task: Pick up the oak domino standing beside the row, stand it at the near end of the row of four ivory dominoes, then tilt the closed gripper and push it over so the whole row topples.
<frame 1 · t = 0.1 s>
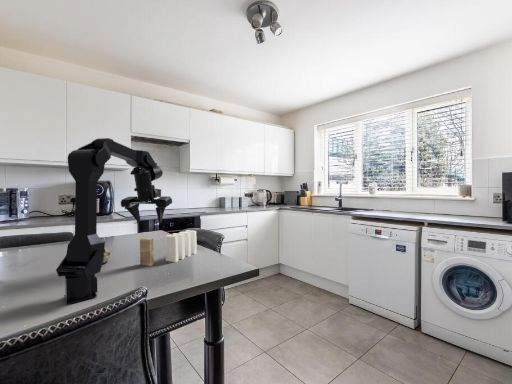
hand: (149, 222, 101), 15 cm above the table, tool pointing down, fingers open, 9 cm apart
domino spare: (146, 264, 96), on the table
rock: (92, 265, 97), on the table
domino 4: (185, 255, 108), on the table
domino 2: (172, 260, 100), on the table
domino 5: (190, 253, 111), on the table
domino 3: (178, 258, 104), on the table
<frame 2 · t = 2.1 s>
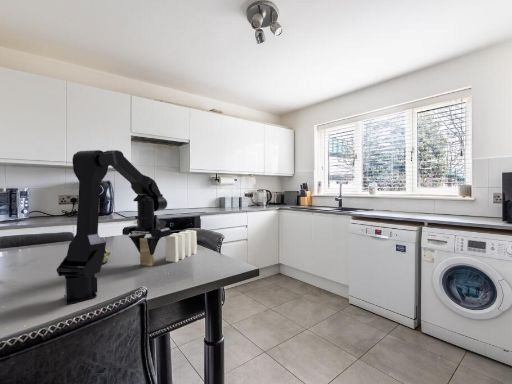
hand: (146, 254, 96), 4 cm above the table, tool pointing down, fingers closed on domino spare, 5 cm apart
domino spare: (146, 264, 96), on the table, touching gripper
everything else where it was.
when the fingers open (5 cm above the table, at t = 6.0 s): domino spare stays where it is, on the table.
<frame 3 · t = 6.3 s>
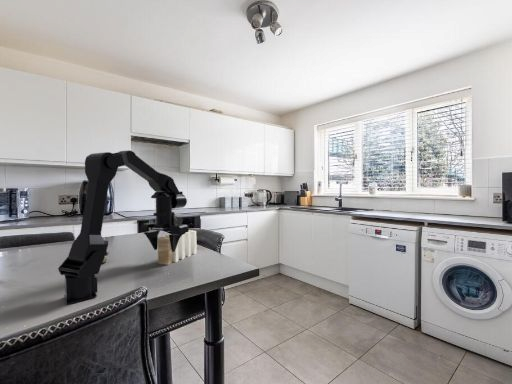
hand: (164, 250, 97), 5 cm above the table, tool pointing down, fingers open, 8 cm apart
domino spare: (164, 263, 97), on the table
everything else where it was.
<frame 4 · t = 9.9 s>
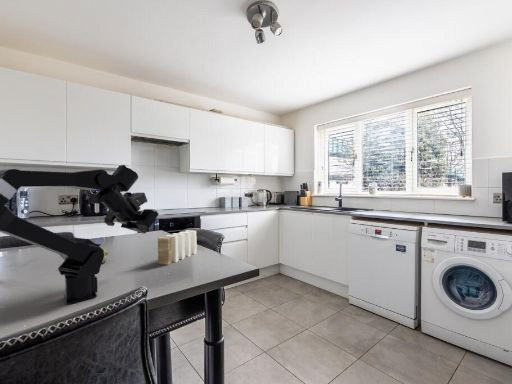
hand: (145, 232, 88), 14 cm above the table, tool tilted 45°, fingers closed
nothing on the table moved.
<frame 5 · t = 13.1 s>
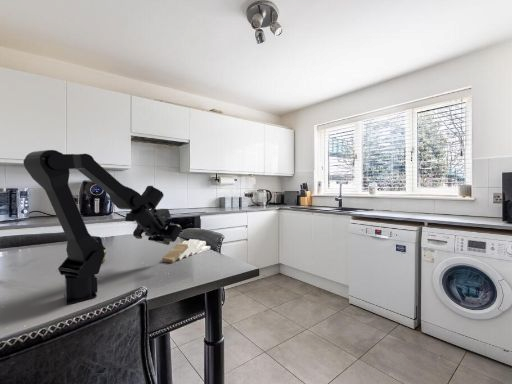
hand: (168, 244, 99), 7 cm above the table, tool tilted 45°, fingers closed
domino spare: (167, 260, 98), point 1 cm above the table, tilted 66°, touching domino 2
domino 4: (187, 252, 109), point 1 cm above the table, tilted 75°, touching domino 3
domino 2: (175, 257, 102), point 1 cm above the table, tilted 65°, touching domino 3, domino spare
domino 5: (192, 252, 112), on the table, tilted 90°
domino 3: (181, 255, 106), point 1 cm above the table, tilted 65°, touching domino 2, domino 4
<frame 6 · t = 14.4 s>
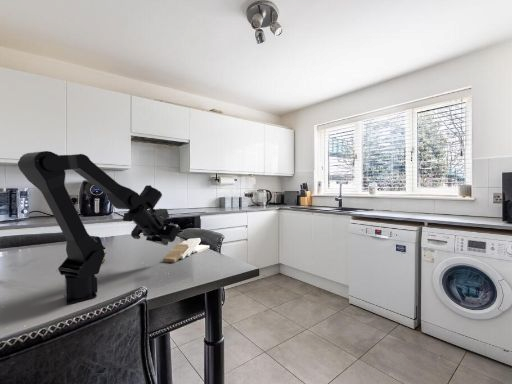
hand: (166, 244, 98), 7 cm above the table, tool tilted 45°, fingers closed
domino 4: (188, 251, 111), point 1 cm above the table, tilted 72°, touching domino 3, domino 5
domino 2: (177, 257, 103), point 1 cm above the table, tilted 67°, touching domino 3, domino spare
domino 5: (192, 251, 113), on the table, tilted 90°, touching domino 4
domino 3: (183, 254, 107), point 1 cm above the table, tilted 67°, touching domino 2, domino 4
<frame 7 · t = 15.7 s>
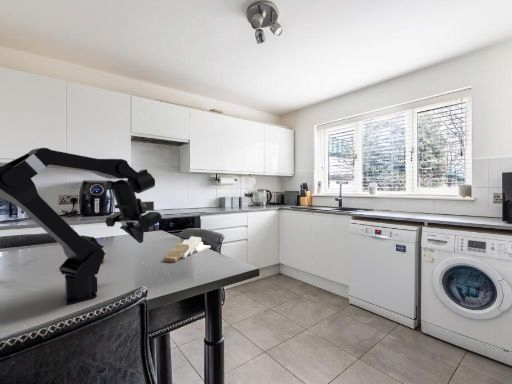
hand: (141, 242, 84), 11 cm above the table, tool tilted 20°, fingers closed
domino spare: (169, 259, 99), point 1 cm above the table, tilted 69°
domino 4: (190, 248, 113), point 2 cm above the table, tilted 90°, touching domino 3
domino 2: (179, 256, 104), point 1 cm above the table, tilted 64°
domino 5: (193, 251, 114), on the table, tilted 90°
domino 3: (185, 252, 109), point 1 cm above the table, tilted 64°, touching domino 4
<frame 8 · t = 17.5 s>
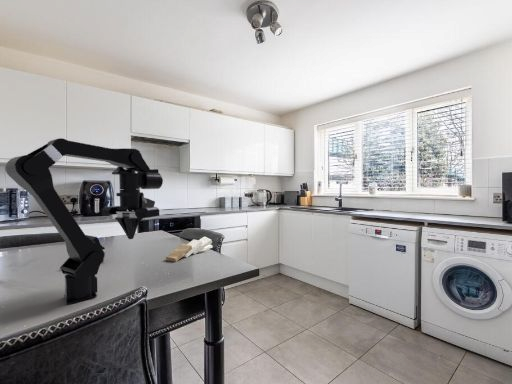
hand: (130, 238, 80), 13 cm above the table, tool pointing down, fingers closed
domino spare: (170, 259, 100), point 1 cm above the table, tilted 72°, touching domino 2
domino 4: (197, 247, 115), point 2 cm above the table, tilted 90°, touching domino 3, domino 5
domino 2: (182, 255, 106), point 1 cm above the table, tilted 67°, touching domino 3, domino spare
domino 5: (194, 251, 114), on the table, tilted 90°, touching domino 4
domino 3: (190, 250, 111), point 1 cm above the table, tilted 69°, touching domino 2, domino 4
at the end: domino 5 tilted 90°; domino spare tilted 72° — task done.
